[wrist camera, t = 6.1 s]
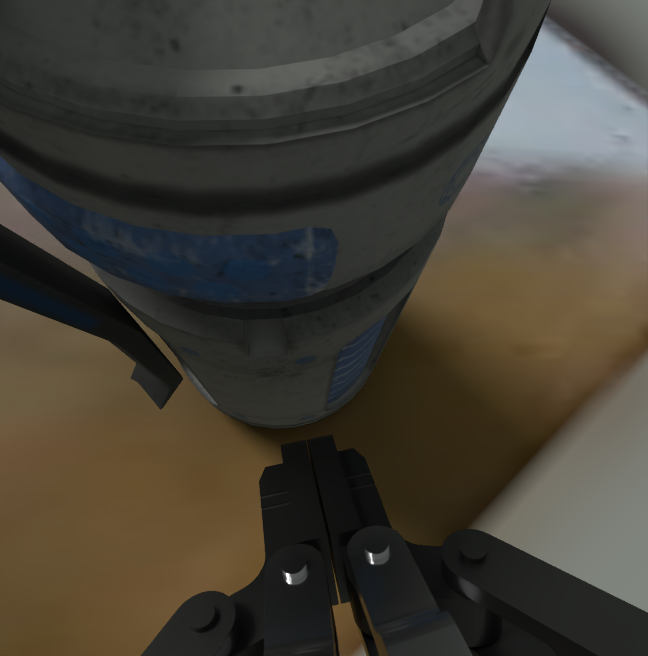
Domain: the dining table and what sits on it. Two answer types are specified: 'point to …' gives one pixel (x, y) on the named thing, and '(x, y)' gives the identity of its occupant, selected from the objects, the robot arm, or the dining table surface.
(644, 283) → the dining table surface
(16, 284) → the beverage bottle
